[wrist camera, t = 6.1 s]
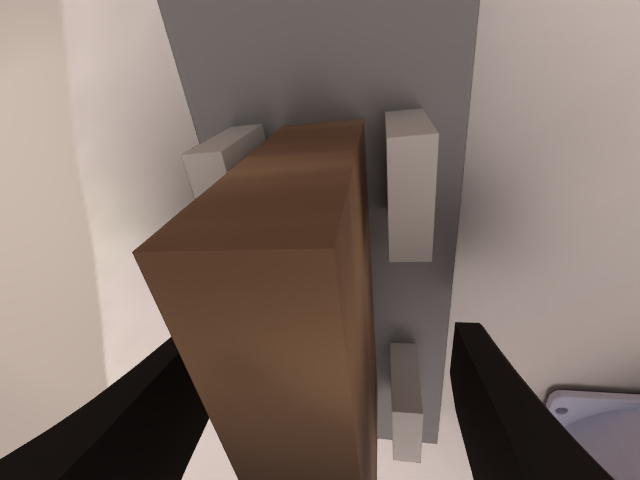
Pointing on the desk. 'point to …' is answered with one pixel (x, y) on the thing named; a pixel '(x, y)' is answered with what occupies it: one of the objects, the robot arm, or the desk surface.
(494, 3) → the desk surface
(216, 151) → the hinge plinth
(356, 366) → the door panel
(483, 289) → the desk surface
